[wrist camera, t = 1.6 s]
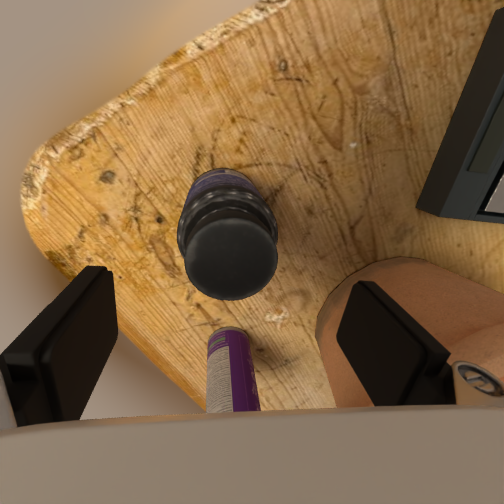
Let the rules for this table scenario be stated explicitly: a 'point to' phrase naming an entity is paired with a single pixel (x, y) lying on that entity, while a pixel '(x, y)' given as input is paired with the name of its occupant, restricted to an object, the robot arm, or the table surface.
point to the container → (230, 373)
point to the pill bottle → (227, 236)
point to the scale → (472, 139)
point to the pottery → (418, 319)
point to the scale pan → (495, 194)
